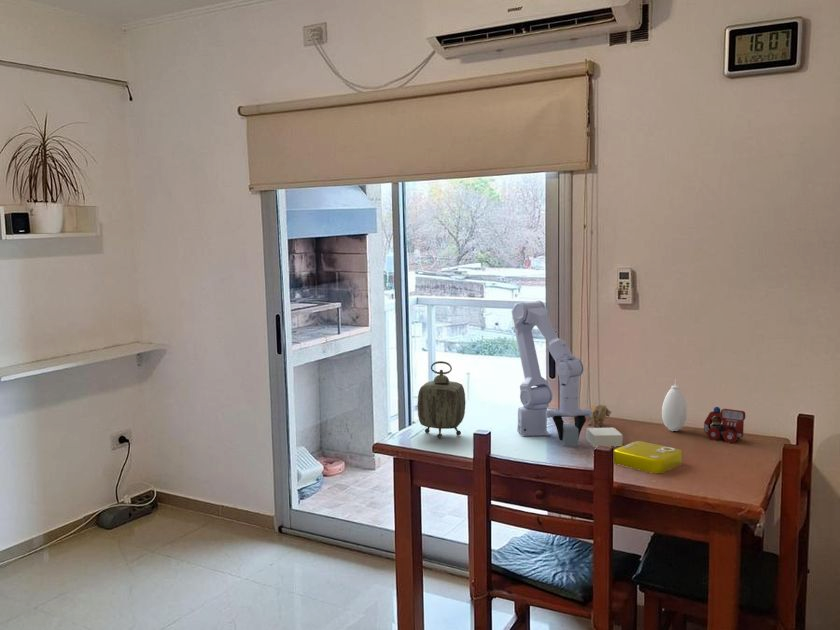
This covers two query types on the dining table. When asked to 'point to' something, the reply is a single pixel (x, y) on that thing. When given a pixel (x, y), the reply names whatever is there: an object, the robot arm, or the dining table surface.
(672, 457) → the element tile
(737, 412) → the toy fire truck
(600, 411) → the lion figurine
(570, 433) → the grey block
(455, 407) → the tabletop clock
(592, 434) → the base block
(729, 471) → the dining table surface
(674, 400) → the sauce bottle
